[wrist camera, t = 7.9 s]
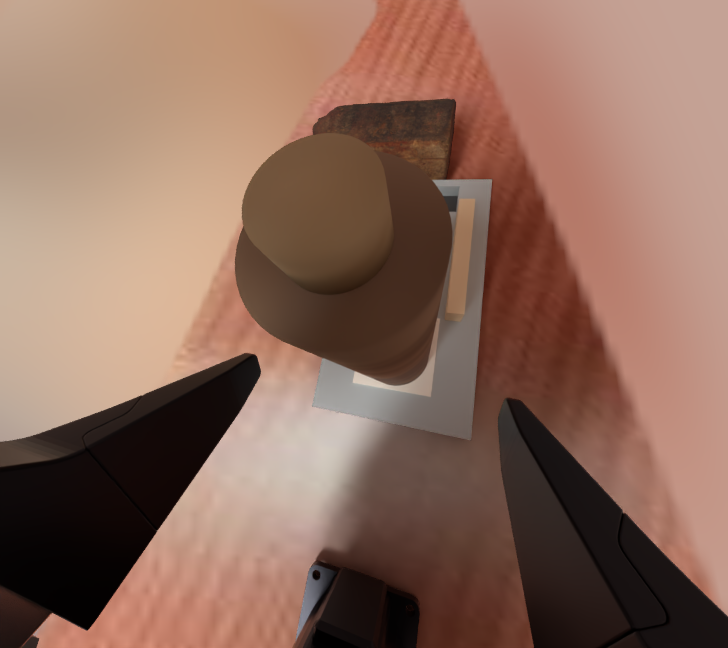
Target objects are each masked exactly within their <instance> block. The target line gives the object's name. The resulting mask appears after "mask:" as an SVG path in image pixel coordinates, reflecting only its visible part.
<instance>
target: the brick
mask: <svg viewBox="0 0 728 648" xmlns="http://www.w3.org/2000/svg"><path fill="white" fill-rule="evenodd" d="M455 110H456V102H455V100H454V99H452V100H451V99H438V100H424V101H400V102H390V103H368V104H353V105H344V106H339V107H336V108H335V109H334V110H332V111H330V112H329V113H328V114H327V115H326V116H324V117H322V118H319V119H318V122H317V123H315V125H314V126H313V135H316V134H324V133H337V134H344V135H348V136H352V137H354V138H357V139H359V140H361V141H362V142H364V143H366V144H367V145H368V146H369V147H371V148H372V149H373V150H374V151H379V152H384V153H388V154H391V155H395V156H397V157H400V158H402V159H405V160H406V161H408V162H410V163H412V164H413V165H415V166H417V167H418V168H419V169H421V170H422V171H423V172H424V173H426V174H427V175H428V176H429V178H430V179H431V180H446V178H447V172H448V167H449V161H450V155H451V146H452V139H453V133H454V123H455V122H454V119H455Z"/></svg>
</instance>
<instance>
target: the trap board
mask: <svg viewBox="0 0 728 648" xmlns="http://www.w3.org/2000/svg"><path fill="white" fill-rule="evenodd" d="M432 181H433V182H434V183H435V184H436V186H437V187H438V189H439V190H440V192H441V193H442V195H443V197H444V199H445V201H446V204H447V206H448V210H449V213H450V216H451V223H452V231H453V232H452V248H451V254H450V259H449V264H448V269H447V273H446V278H445V283H444V288H443V292H442V297H441V302H440V307H439V311H438V316H437V321H436V326H435V330H434V335H433V340H432V345H431V349H430V354H429V359H428V363H427V366H426V368H425V370H424V371H423V373H422V374H421V375H420V376H419V377H418V378H417V379H416V380H414V381H413V382H411V383H409V384H405V385H401V386H392V385H387V384H385V383H382V382H380V381H377V380H375V379H372V378H370V377H368V376H365V375H363V374H360V373H358V372H356V371H353V370H351V369H348V368H346V367H343V366H341V365H339V364H336V363H334V362H331V361H329V360H327V359H324V358H322V362H321V367H320V372H319V376H318V381H317V386H316V390H315V395H314V400H313V404H312V407H316V408H321V409H326V410H331V411H335V412H340V413H345V414H349V415H354V416H359V417H363V418H368V419H373V420H377V421H382V422H387V423H391V424H396V425H401V426H405V427H410V428H415V429H419V430H424V431H429V432H433V433H438V434H443V435H448V436H452V437H457V438H462V439H466V440H471V435H472V422H473V410H474V398H475V385H476V373H477V360H478V348H479V336H480V323H481V311H482V298H483V286H484V274H485V261H486V249H487V236H488V224H489V212H490V199H491V187H492V179H472V180H432Z"/></svg>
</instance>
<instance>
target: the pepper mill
mask: <svg viewBox="0 0 728 648" xmlns="http://www.w3.org/2000/svg"><path fill="white" fill-rule="evenodd" d="M242 220H243V225H244V226H243V229H242V231H241V234H240V237H239V241H238V244H237V249H236V257H235V274H236V282H237V286H238V290H239V293H240V296H241V298H242V300H243V303H244V305H245V307H246V308H247V310H248V311H249V313H250V314H251V316H252V317H253V318H254V319H255V321H256V322H257V323H258V324H259V325H260V326H261V327H262V328H263V329H265V330H266V331H267V332H268V333H270V334H271V335H273V336H274V337H276V338H278V339H280V340H281V341H283V342H286V343H288V344H290V345H293V346H295V347H298V348H300V349H303V350H305V351H307V352H310V353H312V354H315V355H317V356H319V357H322V358H324V359H327V360H329V361H331V362H334V363H336V364H339V365H341V366H343V367H346V368H348V369H351V370H353V371H356V372H358V373H360V374H363V375H365V376H368V377H370V378H372V379H375V380H377V381H380V382H382V383H385V384H387V385H392V386H401V385H405V384H409V383H411V382H413V381H414V380H416V379H417V378H418V377H419V376H420V375H421V374H422V373H423V371H424V370H425V368H426V366H427V363H428V359H429V354H430V349H431V345H432V340H433V335H434V330H435V326H436V321H437V316H438V311H439V307H440V302H441V297H442V292H443V288H444V283H445V278H446V273H447V269H448V264H449V259H450V254H451V248H452V232H453V231H452V223H451V216H450V213H449V210H448V206H447V204H446V201H445V199H444V197H443V195H442V193H441V192H440V190H439V189H438V187H437V186H436V184H435V183H434V182H433V181H432V180H431V179H430V178H429V176H428V175H427V174H426V173H424V172H423V171H422V170H421V169H419V168H418V167H417V166H415V165H413V164H412V163H410V162H408V161H406V160H405V159H402V158H400V157H397V156H395V155H391V154H388V153H384V152H379V151H374V150H373V149H372V148H371V147H369V146H368V145H367V144H366V143H364V142H362V141H361V140H359V139H357V138H354V137H352V136H348V135H344V134H337V133H324V134H316V135H311V136H307V137H304V138H301V139H299V140H296V141H294V142H292V143H290V144H288V145H286V146H284V147H283V148H281V149H280V150H278V151H277V152H275V153H274V154H273V155H272V156H270V157H269V158H268V159H267V160H266V161H265V162H264V163H263V164H262V165H261V167H260V168H259V169H258V170H257V171H256V173H255V174H254V176H253V177H252V179H251V181H250V183H249V185H248V187H247V190H246V192H245V195H244V199H243V204H242Z"/></svg>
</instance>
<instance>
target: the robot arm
mask: <svg viewBox="0 0 728 648" xmlns="http://www.w3.org/2000/svg"><path fill="white" fill-rule="evenodd" d="M260 374H261V369H260V366H259V362H258V358H257V356H256V355H255V354H250V353H244V354H242V355H239V356H237V357H234V358H232V359H230V360H227V361H225V362H222V363H220V364H217V365H215V366H212V367H210V368H208V369H205V370H203V371H200V372H198V373H195V374H193V375H190V376H188V377H185V378H183V379H181V380H178V381H176V382H173V383H171V384H168V385H166V386H163V387H161V388H159V389H156V390H154V391H151V392H149V393H146V394H145V395H143V396H139V397H137V398H134V399H132V400H129V401H127V402H124V403H122V404H119V405H116V406H114V407H111V408H109V409H106V410H104V411H101V412H98V413H95V414H92V415H90V416H87V417H84V418H81V419H79V420H76V421H73V422H70V423H68V424H65V425H62V426H59V427H56V428H53V429H51V430H48V431H45V432H42V433H40V434H36V435H33V436H30V437H26V438H22V439H17V440H12V441H4V442H0V648H36V647H37V644H38V641H39V638H37V637H36V636H34V635H33V634H34V633H35V632H36V631H37V629H38V628H39V627H40V626H41V625H42V624H43V623H44V622H45V620H46V619H47V618H48V617H49V616H50V615H51V614H52V613H54V614H56V615H58V616H59V617H61V618H63V619H65V620H67V621H69V622H71V623H73V624H75V625H77V626H78V627H80V628H82V629H84V630H86V631H87V630H89V628H90V627H91V626H92V625H93V623H94V622H95V621H96V619H97V618H98V617H99V615H100V614H101V612H102V611H103V609H104V608H105V606H106V605H107V603H108V602H109V601H110V599H111V598H112V596H113V595H114V593H115V592H116V590H117V589H118V588H119V586H120V585H121V583H122V582H123V580H124V579H125V577H126V576H127V575H128V573H129V572H130V570H131V569H132V567H133V566H134V564H135V563H136V562H137V560H138V559H139V557H140V556H141V554H142V553H143V551H144V550H145V549H146V547H147V546H148V544H149V543H150V541H151V540H152V538H153V537H154V535H155V534H156V533H157V530H158V529H159V528H160V527H161V525H162V524H163V522H164V521H165V519H166V518H167V516H168V515H169V514H170V512H171V511H172V509H173V508H174V506H175V505H176V503H177V502H178V501H179V499H180V498H181V496H182V495H183V493H184V492H185V490H186V489H187V488H188V486H189V485H190V483H191V482H192V480H193V479H194V477H195V476H196V475H197V473H198V472H199V470H200V469H201V467H202V466H203V464H204V463H205V461H206V460H207V459H208V457H209V456H210V454H211V453H212V451H213V450H214V448H215V447H216V446H217V444H218V443H219V441H220V440H221V438H222V437H223V435H224V434H225V433H226V431H227V430H228V428H229V427H230V425H231V424H232V422H233V421H234V420H235V418H236V417H237V415H238V414H239V412H240V411H241V409H242V407H243V406H244V404H245V402H246V400H247V399H248V397H249V395H250V393H251V392H252V390H253V388H254V386H255V384H256V383H257V381H258V379H259V377H260ZM498 430H499V445H500V461H501V471H502V478H503V483H504V489H505V494H506V499H507V505H508V510H509V515H510V521H511V526H512V532H513V537H514V542H515V548H516V553H517V558H518V564H519V569H520V574H521V580H522V585H523V590H524V596H525V601H526V607H527V612H528V617H529V623H530V628H531V633H532V639H533V644H534V648H728V616H727V615H726V614H725V613H724V612H723V611H722V610H721V609H720V608H718V607H717V606H716V605H715V604H714V603H713V602H712V601H711V600H710V599H709V598H708V597H707V596H706V595H705V594H704V593H703V592H702V591H701V590H700V589H699V588H698V587H697V586H696V585H695V584H694V583H693V582H692V581H691V580H690V579H689V578H688V577H687V576H686V575H685V574H684V573H683V572H682V571H681V570H680V569H679V568H678V567H677V566H676V565H675V564H674V563H673V562H672V561H671V560H670V559H669V558H668V557H667V556H666V555H665V554H664V553H663V552H662V551H661V550H660V549H659V548H658V547H657V546H656V545H655V544H654V543H653V542H652V541H651V540H650V539H649V538H648V537H647V536H646V534H645V533H644V532H643V531H642V530H641V529H640V528H639V527H638V526H637V525H636V524H635V523H634V522H633V521H632V520H631V518H630V517H629V516H628V515H627V514H625V513H623V510H622V509H621V508H620V507H619V506H618V505H617V504H616V502H615V501H614V500H613V499H612V498H611V497H610V496H609V495H608V494H607V493H606V492H605V491H604V490H603V488H602V487H601V486H600V485H599V484H598V483H597V482H596V481H595V480H594V479H593V478H592V477H591V476H590V474H589V473H588V472H587V471H586V470H585V469H584V468H583V467H582V466H581V465H580V464H579V463H578V462H577V460H576V459H575V458H574V457H573V456H572V455H571V454H570V453H569V452H568V451H567V450H566V449H565V448H564V446H563V445H562V444H561V443H560V442H559V441H558V440H557V439H556V438H555V437H554V436H553V435H552V434H551V432H550V431H549V430H548V429H547V428H546V427H545V426H544V425H543V424H542V423H541V422H540V421H539V420H538V418H537V417H536V416H535V415H534V414H533V413H532V412H531V411H530V410H529V409H528V408H527V407H526V406H525V404H524V403H523V402H522V401H520V400H518V399H512V398H506V399H505V400H504V402H503V405H502V408H501V410H500V413H499V417H498ZM315 570H318V571H319V572H320V576H317V575H316V573H315ZM407 605H412V606H413V607H414V610H413V611H409V610H408V609H407V607H406V606H407ZM419 615H420V607H419V602H418V600H417V598H416V597H415V596H413V595H412V594H409V593H406V592H404V591H401V590H398V589H395V588H393V587H390V586H387V585H385V583H384V582H383V581H381V580H378V579H375V578H373V577H370V576H367V575H364V574H362V573H359V572H356V571H353V570H351V569H348V568H345V567H344V568H342V569H340V568H338V567H335V566H332V565H329V564H327V563H324V562H321V561H316V562H314V563H313V565H312V566H311V568H310V570H309V573H308V578H307V583H306V589H305V594H304V599H303V604H302V609H301V615H300V620H299V625H298V630H297V636H296V641H295V644H294V646H293V648H416V643H417V634H418V624H419Z"/></svg>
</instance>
